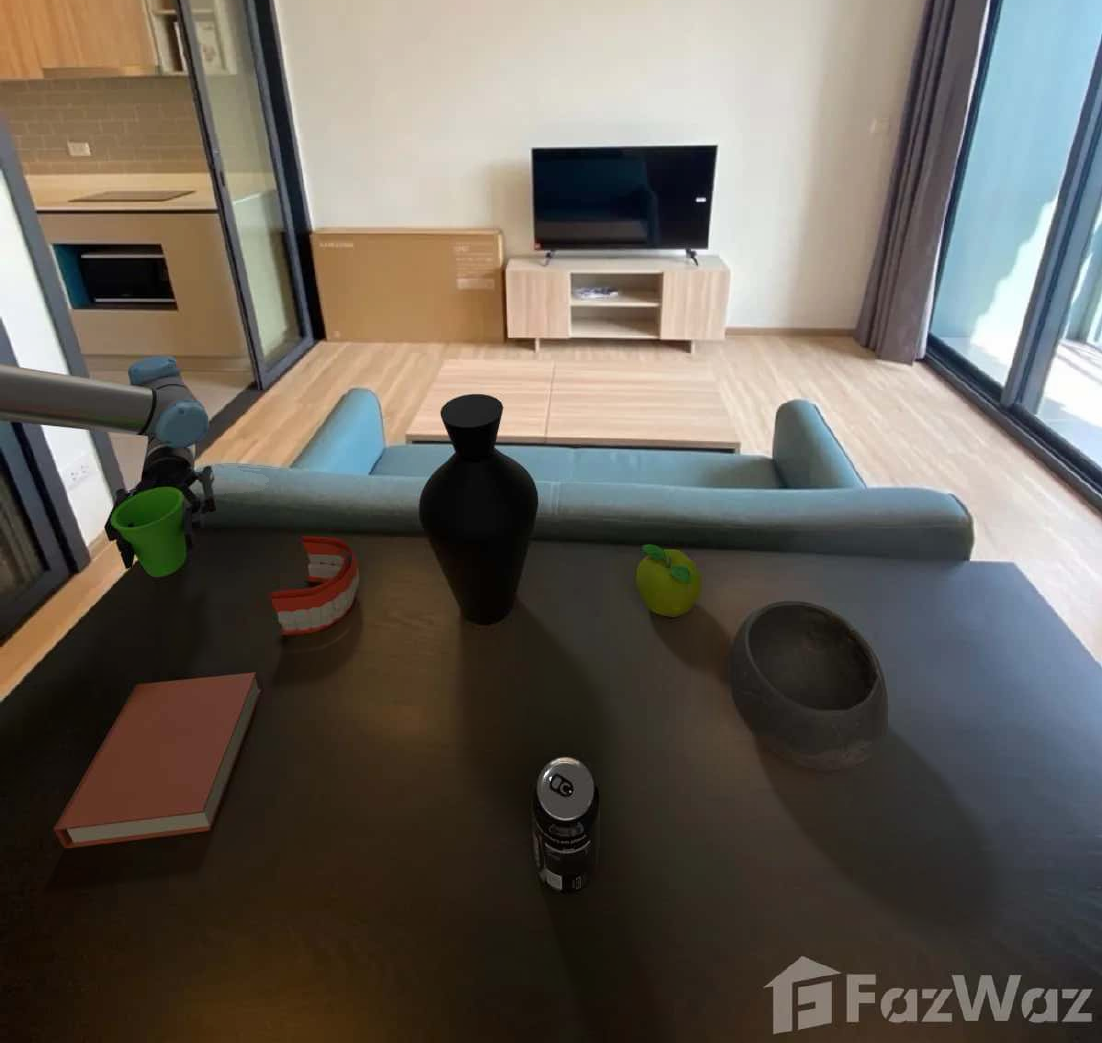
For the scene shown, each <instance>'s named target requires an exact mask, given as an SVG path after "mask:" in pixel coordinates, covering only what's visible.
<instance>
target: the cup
mask: <svg viewBox="0 0 1102 1043" xmlns="http://www.w3.org/2000/svg"><path fill="white" fill-rule="evenodd" d="M183 499H184V495H183V493H182V492H181V491H180V490H178V489H176V488H173V487H159V488H154V489H150V490H147V491H144V492H141V493H139V494H137V495H134V496H133V497H131V498H129V499H127V500H126V501H124V502H123V503H122V504H120V505H119V506H118V507H117V508H116V509H115V511H114V512H113V514H112V516H111V520H110V521H111V525H112V526H113V527H114V528H116V529H118V530H119V532H120V533H121V535H122V536H123V538H124V539H125V540H126V541H129V542H130V544H131V546H132V548H133V550H134V552H135V555H134V557H135V558H136V559H137V560H138V561H139V563H140V565H141V566H142V568H143V569H144V570H145V573H147V574H148V575H149V576H150V577H153V578H161V577H166V576H168V575H171V574H173V573H175V572H176V571H178V570H179V569H180V568H181V567H183V565H184V563H185V561H186V558H187V547H186V546H187V545H186V540H185V537H184V529H185V522H184V512H183ZM132 523H133V526H134V527H132V528H128V525H129V524H132Z"/></svg>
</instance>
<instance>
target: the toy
mask: <svg viewBox="0 0 1102 1043" xmlns="http://www.w3.org/2000/svg"><path fill="white" fill-rule="evenodd" d="M300 541H301V543H302V545H303V548H304V550H305V553H306V555H307V557H308V560H309V562H310V563H309V564H308V566H307V570H308V575H307V581H308V582H309V583H320V584H319V585H316V586H314V587H309V588H308V587H307V588H301V589H300V588H299V589H289V590H287V589H285V590H278V591H275V592H271V593H270V594H269V600H270V602H271V604H272V606H273V608H274V611H275V613H277V620H278V623H279V624H281V626H282V628H281V634H282V635H283V636H292V635H295V636H297V635H305V634H312V633H317V632H319V631H323V630H325V629H327V628H329V627H330V626H332V625H333V624H335V623H337V622H338V621H339V620H341V619H342V618H343V617H344V616H345V615H346V614H347V613H348V612H349V610H350V609H351V607H352V606H353V604H354V601H355V598H356V595H357V588H358V587H359V582H360V575H359V569H358V566H359V561H358V560H357V557H356V556H355V554H354V552H353V551H352V549H351V547H349V545H348V544H347V542H345V541H344V540H342V539H340V538H335V537H334V538H333V537H328V536H311V535H310V536H309V535H304V536H302V537H301V538H300ZM321 563H322V564H321Z"/></svg>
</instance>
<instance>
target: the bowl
mask: <svg viewBox="0 0 1102 1043" xmlns="http://www.w3.org/2000/svg"><path fill="white" fill-rule="evenodd" d="M732 640H733V641H732V644H731V646H730V649H729V650H730V651H729V654H728V655H729V657H728V663H727V664H728V666H727V667H728V668H727V673H728V675H727V676H728V684H729V689H730V694H731V698H732V700H733V703H734V706H735V709H736V710H737V712H738V715H739V716H740V718H741V719H742V721H743V723H744V724H745V726H746V727H747V728H748V730H749V731H750V732H751V733H752V735H753V736H754V737H755V738H756V739H757V740H758V741H759V742H760V743H761V744H762V745H764V746H765V747H766V748H767V749H768V750H770V751H771V752H773V753H774V754H775V755H778V756H779V757H780V758H782V759H784V760H786V761H788V762H790V763H792V764H795V765H797V766H799V767H804V768H808V769H812V770H816V771H817V770H818V771H839V770H845V769H847V768H851V767H854V766H857V765H860V764H861V763H863V762H865V761H866V760H868V759H869V758H870V757H871V756H872V755H873V754H874V753H875V752H876V751H877V749H878V748H879V747H880V745H881V744H882V742H883V741H884V738H885V736H886V735H887V730H888V724H889V699H888V691H887V684H886V680H885V676H884V672H883V669H882V667H881V664H880V661H879V660H878V657H877V655H876V653H875V652H874V650H873V648H872V647H871V646H870V644H869V643H868V641H867V640H866V639H865V637H863V635H862V634H861V633H860V632H859V631H858V630H857V629H855V628H854V626H852V625H851V624H850V622H849V621H847V619H845V618H844V617H842V616H841V615H840V614H838V613H836V612H834V611H832V610H831V609H829V608H827V607H825V606H822V605H819V604H816V603H811V602H808V601H803V600H780V601H774V602H771V603H767V604H766V605H764V606H761V607H759V608H758V609H756V610H755V611H753V612H752V613H751V614H750V615H749V616H747V617H746V619H745V620H743V622H742V623H741V624H740V626H739V628H738V630H737V631H736V633H735V635H734V637H733V639H732Z"/></svg>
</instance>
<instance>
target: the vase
mask: <svg viewBox="0 0 1102 1043" xmlns="http://www.w3.org/2000/svg"><path fill="white" fill-rule="evenodd" d="M503 411H504V405H503V402H502V401H500V400H499V399H498V398H497V397H495V396H492V395H488V394H483V393H470V394H464V395H463V394H462V395H460V396H457V397H454V398H452V399H450V400H448V401H447V402H446V403H444V405H443V406H442V407H441V409H440V412H439V413H440V418H441V421H442V423H443V426H444V428H445V431H446V433H447V436H448V438H449V440H450V443H451V445H452V447H453V450H454V453H453V454H452V455H451V456H450V457H449V458H448V459H447V460H445V462H444V463H443V464H441V465H440V466H439V467H438V468H437V469H435V471H434V472H433V473H432V474H431V476H429V478H428V480H427V481H426V483H425V484H424V486H423V488H422V490H421V493H420V497H419V503H418V517H419V521H420V524H421V526H422V529H423V531H424V535H425V537H426V539H427V540H428V543H429V545H430V547H431V550H432V552H433V554H434V556H435V558H436V560H437V562H438V565H439V566H440V569H441V571H442V574H443V575H444V577H445V580H446V582H447V584H448V586H449V587H450V588H449V589H450V591H451V593H452V595H453V597H454V599H455V601H456V603H457V605H458V608H459V610H460V612H461V613H462V615H463V617H464V618H465V619H466V620H467V621H468V622H470V623H472V624H475V625H478V626H490V625H493V624H498V623H499V622H500V620H501V621H502V620H504V619H505V618H506V617H507V616H508V615H509V614H511V611H512V609H513V607H514V604H515V600H516V597H517V593H518V589H519V585H520V581H521V577H522V573H523V569H524V567H525V563H526V559H527V554H528V552H529V546H530V543H531V540H532V536H533V532H534V528H535V523H536V518H537V515H538V509H539V492H538V489H537V485H536V482H535V481H534V478H533V477H532V475H531V473H529V471H528V470H527V469H526V468H525V467H524V466H523V465H522V464H521V463H520V462H518V461H517V460H515V459H513V458H512V457H510V456H508V455H506V454H505V453H503V452H502V451H500V450H499V449H497V448H496V443H497V437H498V434H499V430H500V424H501V421H502V416H503ZM498 621H499V622H498Z"/></svg>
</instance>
